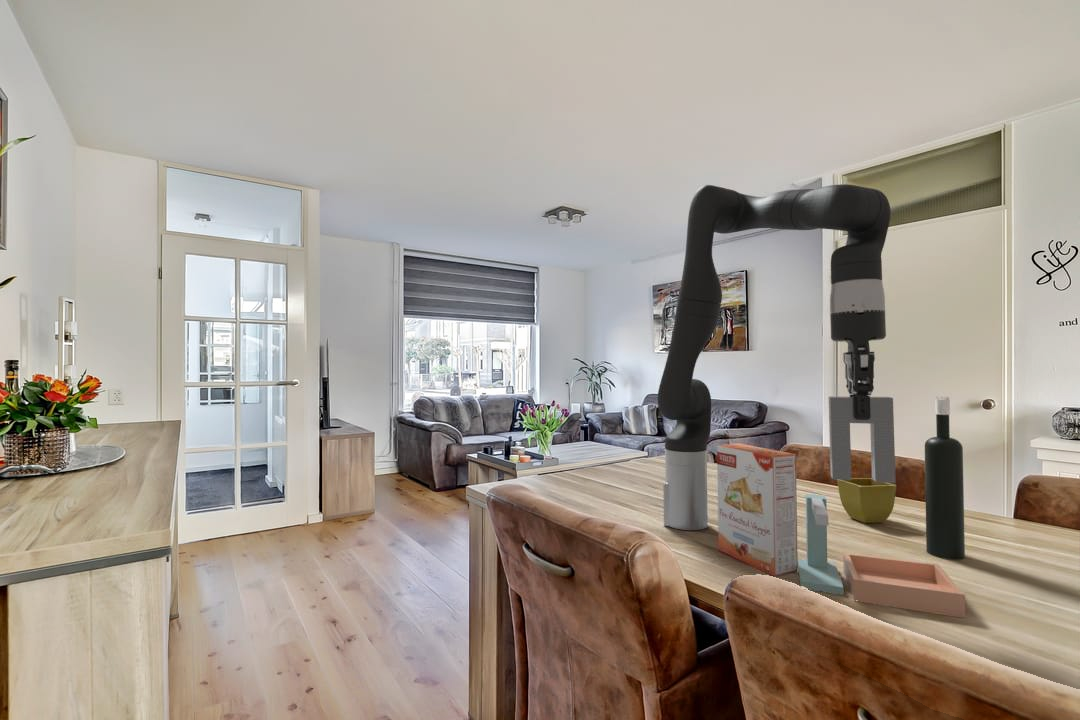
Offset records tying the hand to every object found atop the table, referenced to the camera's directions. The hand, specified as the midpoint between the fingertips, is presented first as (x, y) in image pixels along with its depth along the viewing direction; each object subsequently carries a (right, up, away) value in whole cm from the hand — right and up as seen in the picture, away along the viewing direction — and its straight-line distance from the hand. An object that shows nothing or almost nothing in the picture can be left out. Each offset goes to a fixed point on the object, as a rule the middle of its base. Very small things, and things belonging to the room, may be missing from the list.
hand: (860, 417), depth 83 cm
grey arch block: (0, -10, 0) cm, 10 cm away
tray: (+6, -28, 0) cm, 28 cm away
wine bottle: (+26, -28, +16) cm, 42 cm away
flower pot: (+25, -28, +38) cm, 54 cm away
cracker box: (-11, -28, +13) cm, 33 cm away
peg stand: (-5, -28, +4) cm, 28 cm away
